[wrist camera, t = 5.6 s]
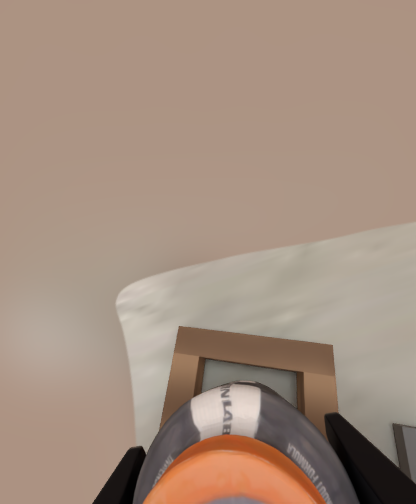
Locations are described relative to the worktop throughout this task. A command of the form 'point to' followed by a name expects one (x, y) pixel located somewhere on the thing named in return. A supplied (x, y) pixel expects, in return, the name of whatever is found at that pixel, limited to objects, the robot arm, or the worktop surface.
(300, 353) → the bottle holder
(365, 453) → the robot arm
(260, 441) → the pill bottle
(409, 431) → the rubber mat
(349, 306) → the worktop surface
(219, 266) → the worktop surface
